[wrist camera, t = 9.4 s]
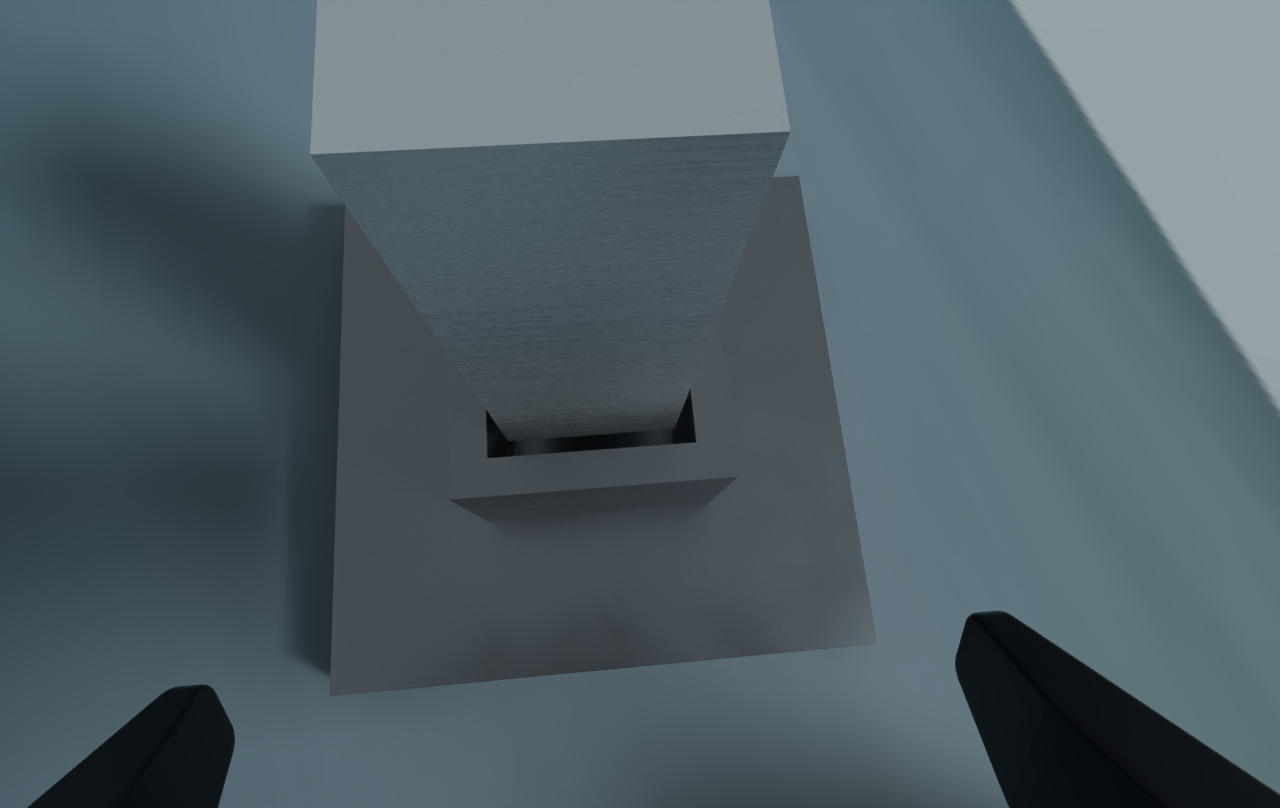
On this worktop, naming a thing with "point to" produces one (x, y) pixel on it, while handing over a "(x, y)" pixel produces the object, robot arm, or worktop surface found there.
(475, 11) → the block
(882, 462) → the worktop surface
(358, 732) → the worktop surface
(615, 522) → the stand
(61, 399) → the worktop surface
